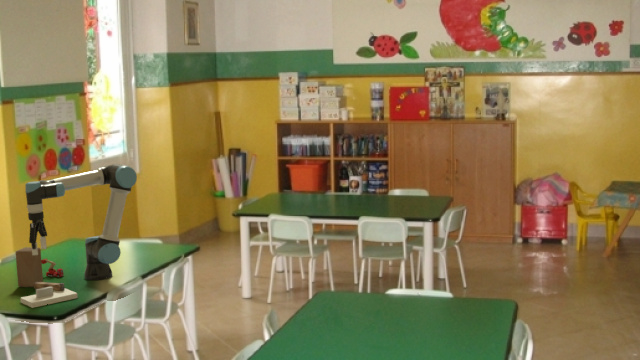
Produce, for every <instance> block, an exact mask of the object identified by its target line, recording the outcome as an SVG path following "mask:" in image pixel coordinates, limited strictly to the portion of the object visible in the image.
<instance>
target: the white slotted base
mask: <svg viewBox="0 0 640 360" xmlns="http://www.w3.org/2000/svg"><path fill="white" fill-rule="evenodd" d="M78 298H79V296H78V292H75V291H73V290H70V289H68V288H65V290H61V291H58V290H53V287H46V288H41V289H35V294H31V295H28V296H27V295H26V296H22V297H20V303H21V304H23V305H25V306H28V307H30V308H32V309H34V308H38V307H43V306H46V305H47V304H48V305H52V304H56V303H60V302H64V301H70V300H74V299H78Z"/></svg>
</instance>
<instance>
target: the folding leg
mask: <svg viewBox="0 0 640 360" xmlns="http://www.w3.org/2000/svg"><path fill="white" fill-rule="evenodd" d="M46 287H53V291H55V290H58V291H61V290H65V283H63V282H60V283H59V282H45V281H43V282H36V283H34V287H33V288H34V289H35V290H36V289H41V288H46Z"/></svg>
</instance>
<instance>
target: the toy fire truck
mask: <svg viewBox="0 0 640 360" xmlns="http://www.w3.org/2000/svg"><path fill="white" fill-rule="evenodd" d="M41 261H42V265H45V264H48V263H49V264H50V266H49V267H48V270H47V271H46V272H45V276H47V277H50V278H52V277H57V278H61V277H64V274H65V273H64V269H63V268H56V269H55V268H54V267H55V266H56V265H57V263H56V262H55V261H52V260H49V259H48V258H43V259H41Z"/></svg>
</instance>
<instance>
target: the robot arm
mask: <svg viewBox="0 0 640 360" xmlns="http://www.w3.org/2000/svg"><path fill="white" fill-rule="evenodd" d="M137 179H138V177H137V172H136V171H135V169H134V168H133V167H130V166H128V165H126V164H125V165H124V164H120V163H119V164H118V163H114V164H110V165H106V166H102V167H101V166H100V167H98V168H96V170H93V171H92V170H91V171H87V172H81V173H77V174H72V175H68V176H67V175H66V176H62V177H58V178H57V177H56V178H53V179H46V180H44V179H43V180H39V181H29V182H26V183H25V187H24V188H25V196H26V198H25V199H26V208H27V212H28V213H27V215H28V216H27V217H28V221H31V223H29V238H28V239H29V240H28V241H29V242H28V243H29V244H31V246H30V247H31V248H32V255H38V248H39V247H38V242H37V240H38V234H39V235H40V237H39V239H40V240H39V241H40V249H41V250H47V249H48V245H47V238H46V237H48V233H47V229H46V226H45V221H44V219H45V216H44V211H43V210H44V205H43V200H49V199H55V198H60V197H64V196H65V194H66V191H72V190H76V189H79V188H80V189H81V188H85V187H86V188H87V187H90V186H94V185H100V186H104V185H109V189H110V196H109V200H108V205H107V210H106V214H105V215H106V216H105V219H104V223H103V229H102V232H101V234H100V235H96V236H90V237H86V238H85V241H84V245H85V257H86V266H85V270H84V274H83V275H84V276H83V277H84V280H88V281H99V280H101V281H102V280H107V279H109V278H112V277H113V270H112V269H111V265H113V263H114V264H115V263H116V262H117V261H118V260H119V259H120V256H121V252H122V251H121V249H120V247H119V246H120V242H121V240H120V238H119V232H120V228H121V224H122V219H123V215H124V211H125V207H126V202H127V201H126V200H127V197H128V195H129V194H131V192H132V188H133V187H134V185H136V182H137Z"/></svg>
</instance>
